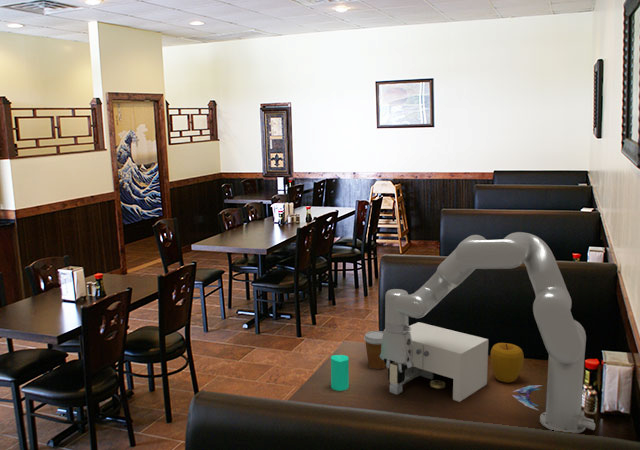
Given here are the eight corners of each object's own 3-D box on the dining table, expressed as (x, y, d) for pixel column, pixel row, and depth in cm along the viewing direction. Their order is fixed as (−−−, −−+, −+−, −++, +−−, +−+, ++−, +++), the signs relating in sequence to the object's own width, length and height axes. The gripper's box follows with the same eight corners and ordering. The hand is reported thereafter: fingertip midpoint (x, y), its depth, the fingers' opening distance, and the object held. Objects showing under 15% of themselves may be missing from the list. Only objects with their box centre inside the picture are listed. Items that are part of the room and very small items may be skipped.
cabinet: (486, 384, 204) (488, 339, 202) (458, 402, 191) (459, 354, 188) (417, 363, 223) (418, 322, 221) (387, 378, 210) (387, 334, 207)
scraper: (402, 396, 195) (402, 367, 194) (384, 390, 200) (384, 361, 199) (433, 378, 209) (434, 351, 208) (416, 373, 214) (417, 346, 212)
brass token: (447, 386, 204) (447, 382, 204) (439, 390, 200) (439, 387, 200) (435, 382, 207) (435, 378, 207) (427, 386, 204) (427, 383, 203)
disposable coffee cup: (361, 369, 218) (361, 337, 216) (367, 359, 227) (367, 329, 225) (387, 372, 215) (387, 340, 213) (391, 362, 224) (392, 331, 222)
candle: (328, 388, 202) (327, 354, 200) (335, 382, 207) (335, 349, 205) (344, 392, 199) (343, 357, 197) (351, 385, 205) (351, 351, 203)
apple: (524, 376, 210) (525, 341, 208) (520, 388, 201) (522, 351, 199) (492, 371, 215) (493, 336, 213) (487, 382, 205) (488, 346, 203)
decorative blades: (515, 380, 206) (546, 385, 202) (515, 382, 206) (546, 387, 202) (507, 403, 189) (540, 409, 184) (507, 406, 189) (540, 412, 185)
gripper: (424, 329, 193) (423, 383, 196) (383, 319, 204) (383, 370, 207) (411, 335, 187) (410, 391, 190) (369, 324, 198) (369, 377, 201)
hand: (396, 380), depth 198 cm, fingers closed on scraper, 3 cm apart
